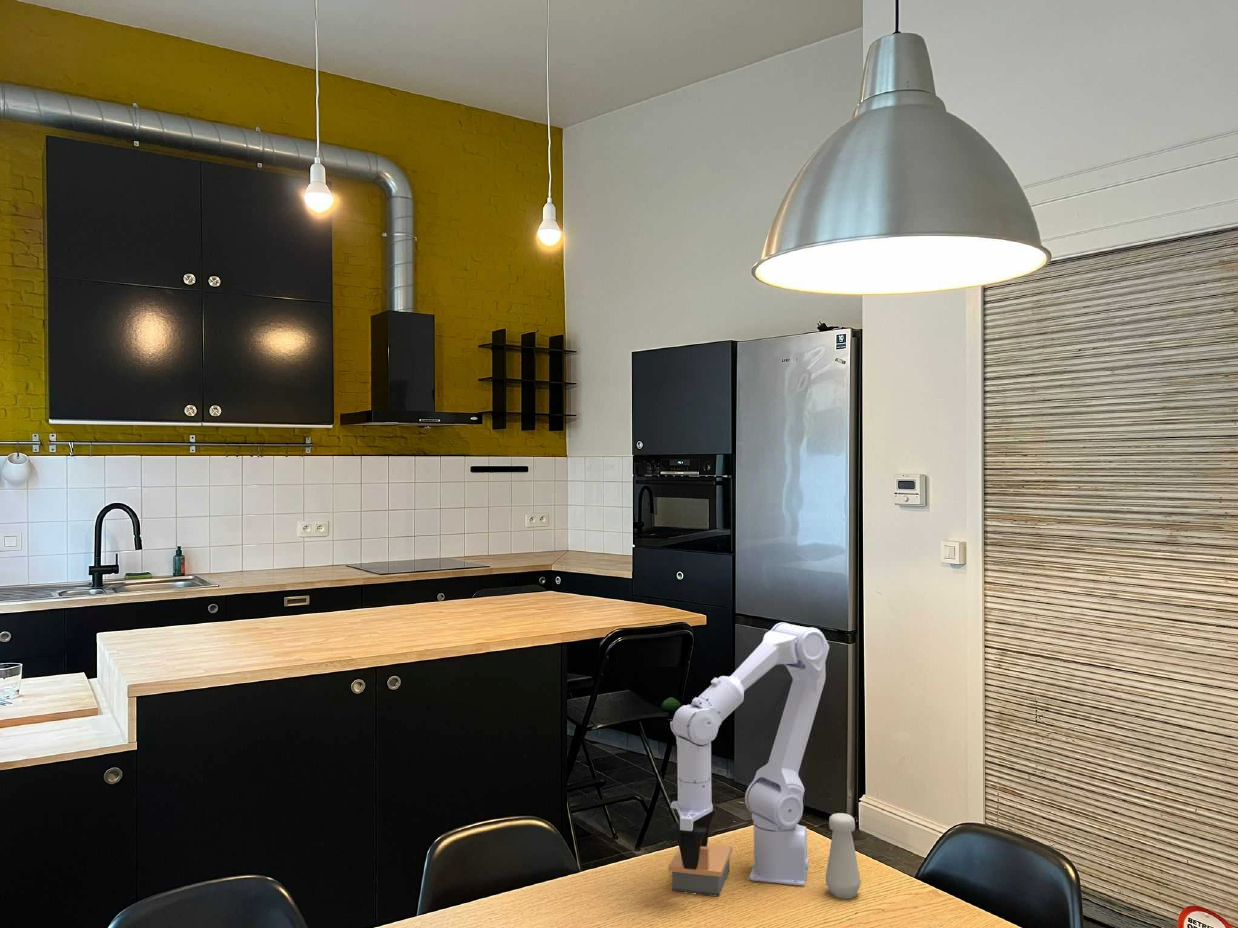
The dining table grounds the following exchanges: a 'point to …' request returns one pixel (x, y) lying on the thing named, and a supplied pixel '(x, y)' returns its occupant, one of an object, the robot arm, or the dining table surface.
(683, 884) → the tub
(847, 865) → the salt shaker
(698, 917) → the dining table surface
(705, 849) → the lid
